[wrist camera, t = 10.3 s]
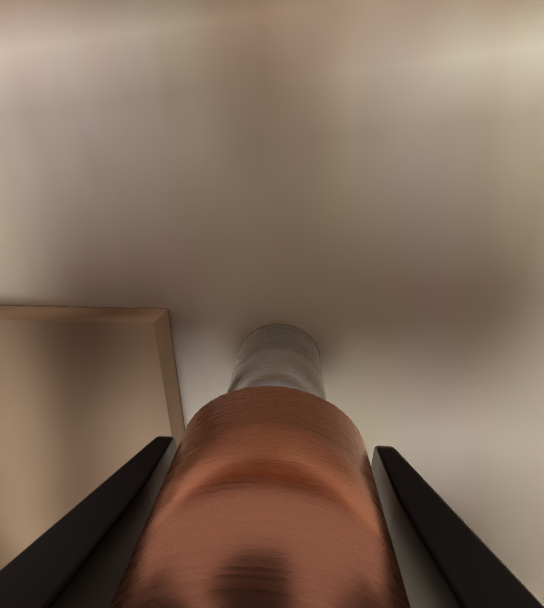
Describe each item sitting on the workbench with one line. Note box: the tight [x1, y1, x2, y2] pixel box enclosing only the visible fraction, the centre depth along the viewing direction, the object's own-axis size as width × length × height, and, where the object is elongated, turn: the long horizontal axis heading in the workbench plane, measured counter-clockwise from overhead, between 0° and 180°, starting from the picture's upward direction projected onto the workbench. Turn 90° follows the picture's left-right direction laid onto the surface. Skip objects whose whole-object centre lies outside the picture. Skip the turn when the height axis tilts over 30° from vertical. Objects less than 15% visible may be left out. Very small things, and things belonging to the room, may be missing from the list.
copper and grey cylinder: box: [109, 324, 411, 608], centre depth 8 cm, size 4×4×8 cm
